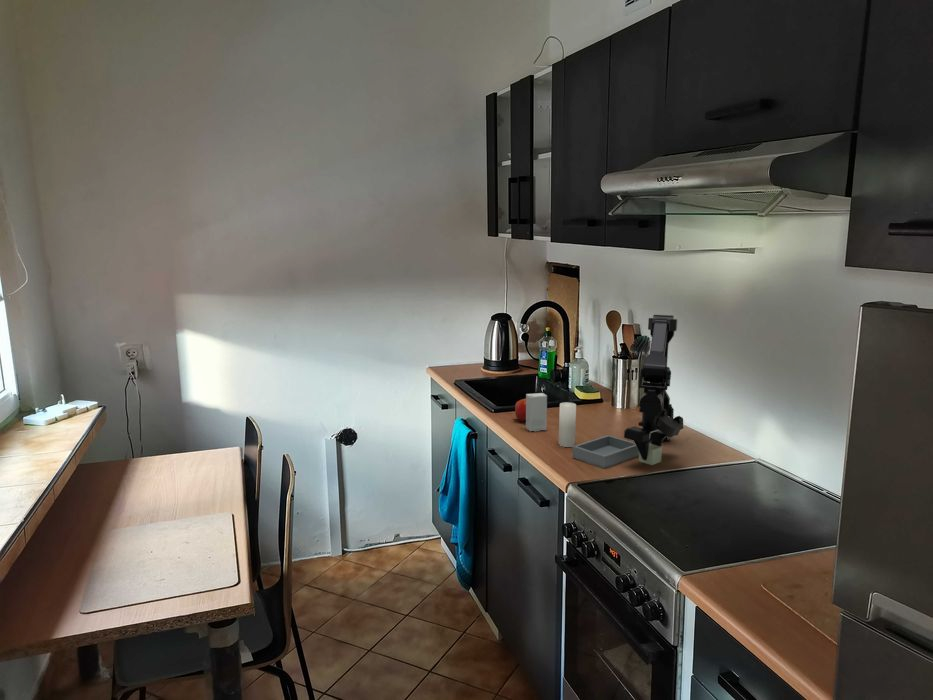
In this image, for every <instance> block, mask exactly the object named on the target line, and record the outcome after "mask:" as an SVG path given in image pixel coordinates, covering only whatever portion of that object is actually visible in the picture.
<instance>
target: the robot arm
mask: <svg viewBox="0 0 933 700" xmlns="http://www.w3.org/2000/svg"><path fill="white" fill-rule="evenodd" d="M674 316H675V315H673V314H672V315H671V314H669V315H668V314H667V315H666V314H653V317H648V323H647V324H648V325H647V330H648V331H649V332H650V337H651V341H650V342H651V343H650V348H649V349H650V350H649V354H647V355H646V356H645V357H644V360H643V365H640V371H639V372H640V374H639V382H638V388H640V389H643V390H642V391H643V394H642V396H641V398H640V400H639V410H638V411H639V413H641V421H638V426H639V427H638V426H635V425H633V426H630V427H627V428H626V429H624V431H623V438H624V439H627V440H629V441H630V440H631V441H634V443H635V444H636V446H637V448H638V450H639V452H640V454H641V457H642V459H643V460H647V455H648V449H649V444H653V445H657V446H660V447H663V446H662V445H663V443H664V442H670V441H671V438H673V437H675V436H678V435H680V431H681V430H683V429H684V417H682V416H680V415H678V416H675V417H674V411H675V409H674V408H673V406H672V403H671V402H670V401H671V397H670V396H669V394H668V392H667V391H668V387H670V386H671V378H672V371H671V368H670V367H669V366H668V359H669V358H668V355H669V344H670V342H671V341H672V339H673V338H674V336H675V332H677V330H678V319H677V318H675V317H674Z"/></svg>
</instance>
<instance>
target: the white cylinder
mask: <svg viewBox="0 0 933 700" xmlns="http://www.w3.org/2000/svg"><path fill="white" fill-rule="evenodd" d="M576 420H577V404H576V403H574V402H567V401H566V402H560V403H559V417H558V444H559V445H560V446H563V447H562V448H564V447H572V448H573V446H576V424H577V421H576ZM559 445H558V446H559ZM560 446H559V447H560Z"/></svg>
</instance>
